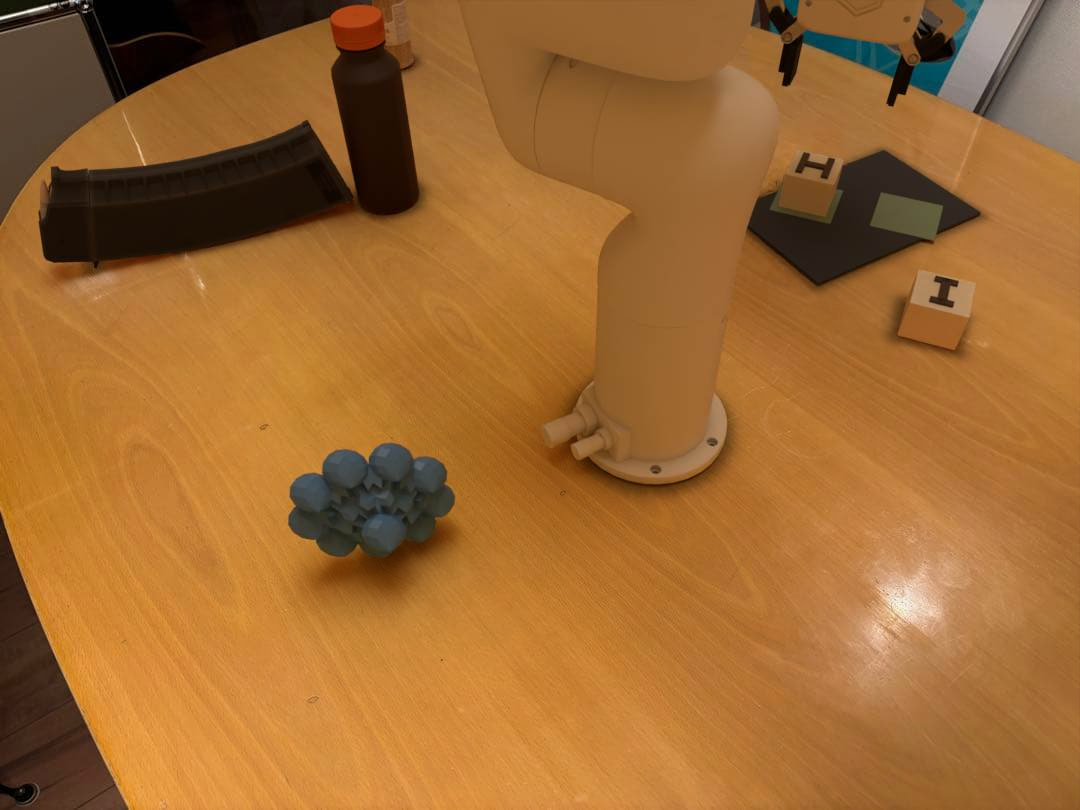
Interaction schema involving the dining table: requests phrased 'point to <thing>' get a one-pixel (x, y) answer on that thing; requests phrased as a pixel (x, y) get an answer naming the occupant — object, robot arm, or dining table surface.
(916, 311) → the tile
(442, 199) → the dining table surface
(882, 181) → the mat
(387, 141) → the vinegar
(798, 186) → the tile
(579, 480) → the dining table surface
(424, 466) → the grapes
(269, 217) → the magazine
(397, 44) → the sprinkles bottle
